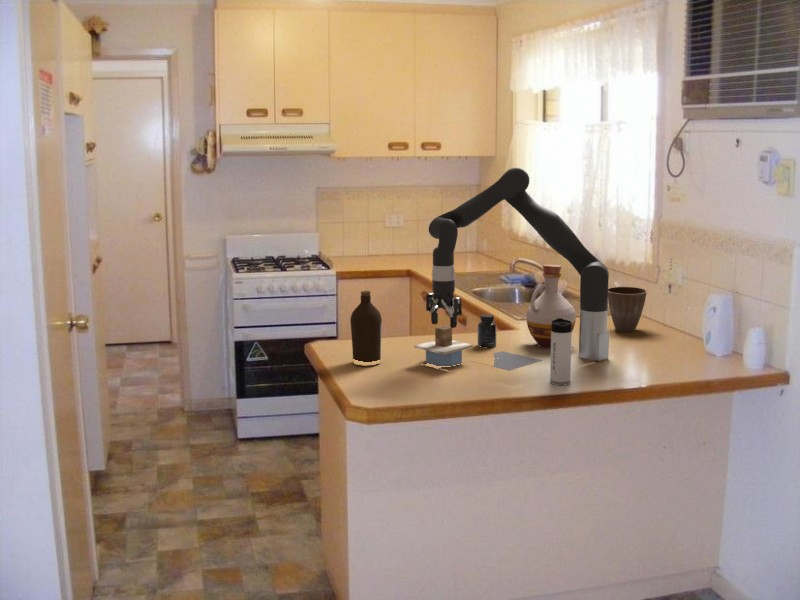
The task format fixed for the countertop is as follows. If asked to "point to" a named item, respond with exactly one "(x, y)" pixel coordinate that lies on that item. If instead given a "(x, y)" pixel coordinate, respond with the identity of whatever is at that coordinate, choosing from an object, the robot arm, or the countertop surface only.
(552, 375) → the travel mug
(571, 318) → the jug
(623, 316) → the plant pot
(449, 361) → the bowl
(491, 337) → the supplement bottle
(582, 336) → the robot arm
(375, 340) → the olive oil
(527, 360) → the mat
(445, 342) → the lid
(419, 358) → the countertop surface
